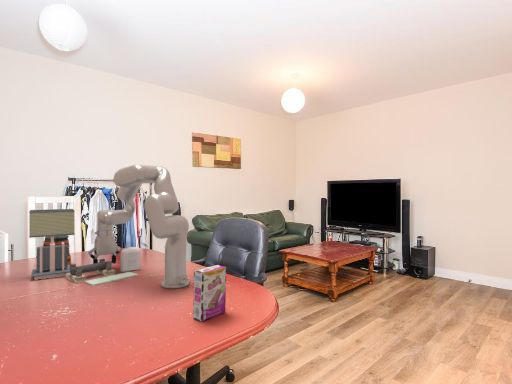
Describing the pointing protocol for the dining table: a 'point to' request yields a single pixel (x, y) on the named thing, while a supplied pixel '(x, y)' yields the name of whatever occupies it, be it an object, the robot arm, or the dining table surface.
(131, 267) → the photo printer
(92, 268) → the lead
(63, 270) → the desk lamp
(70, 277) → the clamp board
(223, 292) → the candy bar box
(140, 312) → the dining table surface
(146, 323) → the dining table surface
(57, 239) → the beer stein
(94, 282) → the mat
